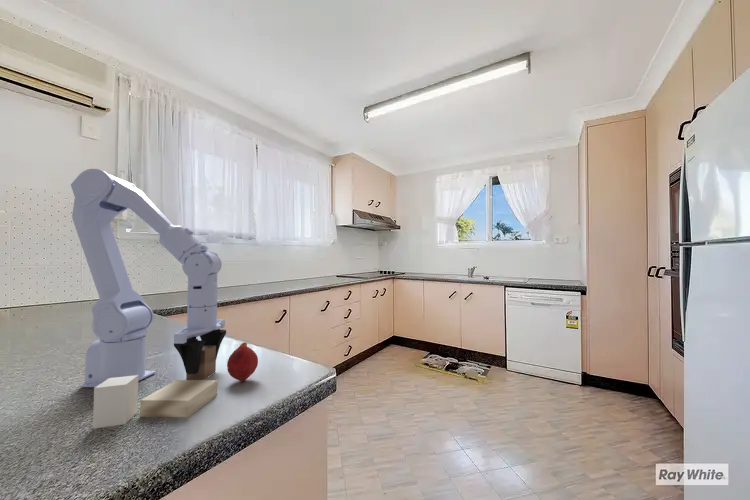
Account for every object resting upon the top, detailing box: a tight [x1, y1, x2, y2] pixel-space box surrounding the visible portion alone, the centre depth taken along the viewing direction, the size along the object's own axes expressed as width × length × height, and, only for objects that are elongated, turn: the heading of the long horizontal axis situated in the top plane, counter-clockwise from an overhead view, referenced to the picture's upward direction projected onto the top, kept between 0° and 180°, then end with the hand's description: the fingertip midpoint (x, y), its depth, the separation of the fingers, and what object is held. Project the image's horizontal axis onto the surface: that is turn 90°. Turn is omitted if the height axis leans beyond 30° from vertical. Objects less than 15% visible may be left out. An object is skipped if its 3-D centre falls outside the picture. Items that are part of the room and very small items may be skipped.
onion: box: [226, 341, 259, 383], centre depth 61 cm, size 6×6×8 cm
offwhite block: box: [92, 375, 139, 429], centre depth 46 cm, size 4×4×6 cm
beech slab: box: [139, 379, 218, 418], centre depth 51 cm, size 8×8×3 cm
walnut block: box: [185, 345, 217, 380], centre depth 64 cm, size 4×4×6 cm
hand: (201, 367), depth 64 cm, fingers open, 6 cm apart
